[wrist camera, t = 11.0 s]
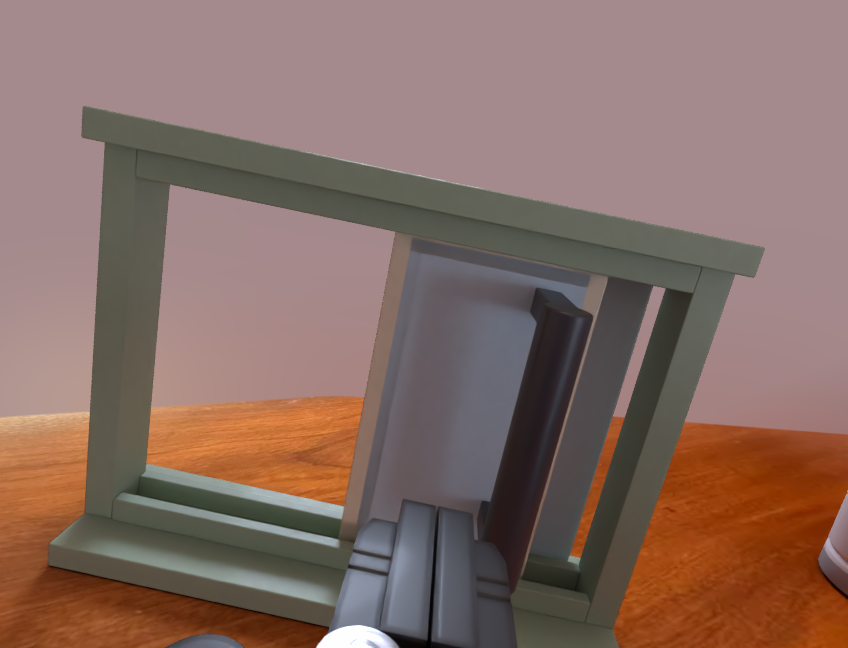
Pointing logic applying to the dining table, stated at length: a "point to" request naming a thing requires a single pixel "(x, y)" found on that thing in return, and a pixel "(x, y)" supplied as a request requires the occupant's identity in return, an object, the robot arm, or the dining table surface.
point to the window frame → (320, 522)
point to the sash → (470, 389)
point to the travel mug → (837, 551)
